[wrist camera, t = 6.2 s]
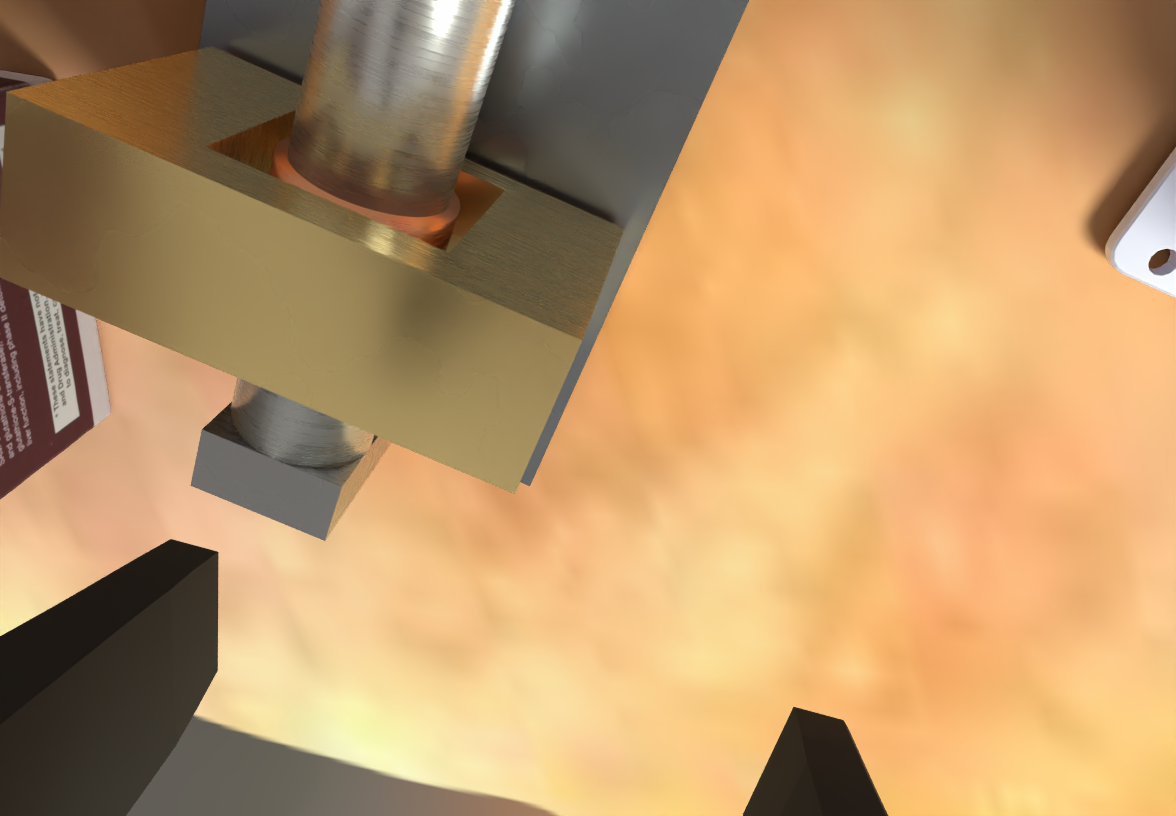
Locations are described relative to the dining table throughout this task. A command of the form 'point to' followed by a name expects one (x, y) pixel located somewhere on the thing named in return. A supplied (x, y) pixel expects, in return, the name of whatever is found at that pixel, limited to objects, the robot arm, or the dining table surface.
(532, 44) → the pipe stand
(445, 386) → the yellow block with hole
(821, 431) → the dining table surface
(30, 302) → the supplement box
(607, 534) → the dining table surface
